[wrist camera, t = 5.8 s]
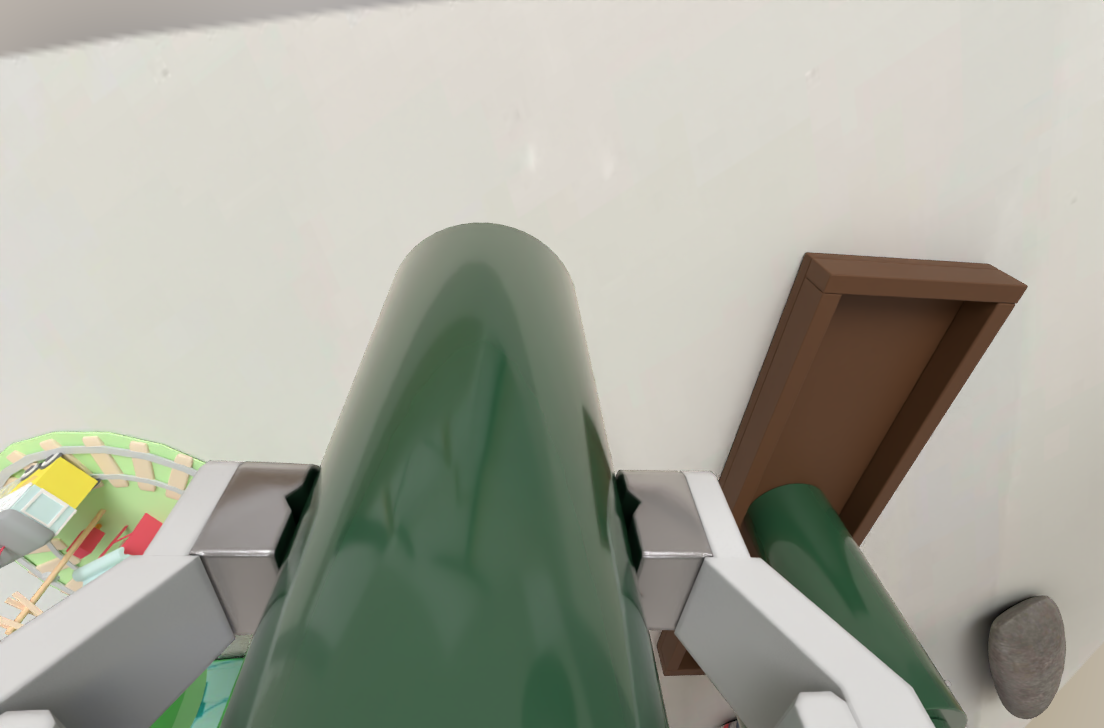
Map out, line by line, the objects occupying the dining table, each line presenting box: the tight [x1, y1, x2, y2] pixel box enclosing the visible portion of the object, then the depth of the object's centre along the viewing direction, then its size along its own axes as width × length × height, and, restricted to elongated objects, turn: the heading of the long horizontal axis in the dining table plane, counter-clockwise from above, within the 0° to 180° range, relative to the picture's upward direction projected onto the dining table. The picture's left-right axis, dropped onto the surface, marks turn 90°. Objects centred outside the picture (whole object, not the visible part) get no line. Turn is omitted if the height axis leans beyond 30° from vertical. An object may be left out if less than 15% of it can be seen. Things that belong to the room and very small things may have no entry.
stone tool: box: [988, 596, 1066, 719], centre depth 41 cm, size 17×4×5 cm
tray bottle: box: [744, 483, 967, 728], centre depth 24 cm, size 5×5×15 cm
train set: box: [0, 432, 207, 728], centre depth 23 cm, size 15×14×14 cm
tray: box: [657, 253, 1028, 676], centre depth 30 cm, size 30×8×2 cm, turn 175°
